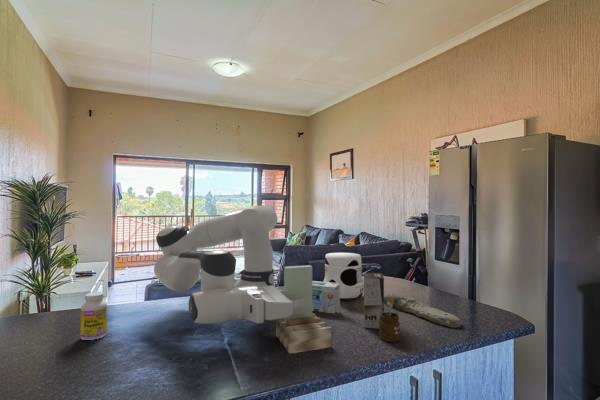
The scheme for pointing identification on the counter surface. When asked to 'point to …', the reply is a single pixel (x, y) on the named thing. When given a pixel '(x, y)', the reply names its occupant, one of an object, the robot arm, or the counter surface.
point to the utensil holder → (389, 325)
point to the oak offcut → (306, 327)
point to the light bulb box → (325, 297)
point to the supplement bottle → (93, 317)
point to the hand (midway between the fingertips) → (297, 297)
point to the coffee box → (373, 299)
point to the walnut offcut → (302, 321)
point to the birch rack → (303, 336)
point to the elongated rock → (423, 310)
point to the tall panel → (299, 289)
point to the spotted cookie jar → (345, 274)
